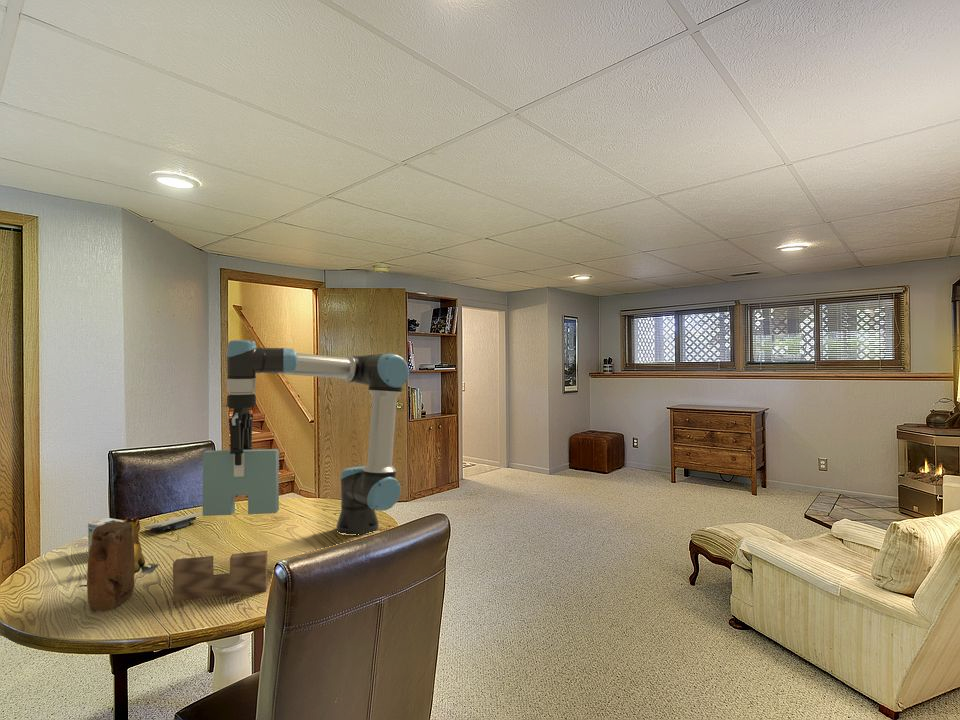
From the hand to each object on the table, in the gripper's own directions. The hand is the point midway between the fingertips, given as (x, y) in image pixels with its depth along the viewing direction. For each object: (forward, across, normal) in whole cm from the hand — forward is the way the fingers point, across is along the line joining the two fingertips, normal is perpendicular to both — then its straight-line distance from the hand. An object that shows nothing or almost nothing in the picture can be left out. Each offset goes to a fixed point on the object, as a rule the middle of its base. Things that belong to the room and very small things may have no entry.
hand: (241, 474), depth 148 cm
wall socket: (+30, -46, -35) cm, 65 cm away
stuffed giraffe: (+29, -6, -35) cm, 46 cm away
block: (+29, +15, -27) cm, 42 cm away
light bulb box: (+29, -22, -48) cm, 61 cm away
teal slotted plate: (+11, 0, 0) cm, 11 cm away
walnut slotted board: (+29, +13, -1) cm, 32 cm away
